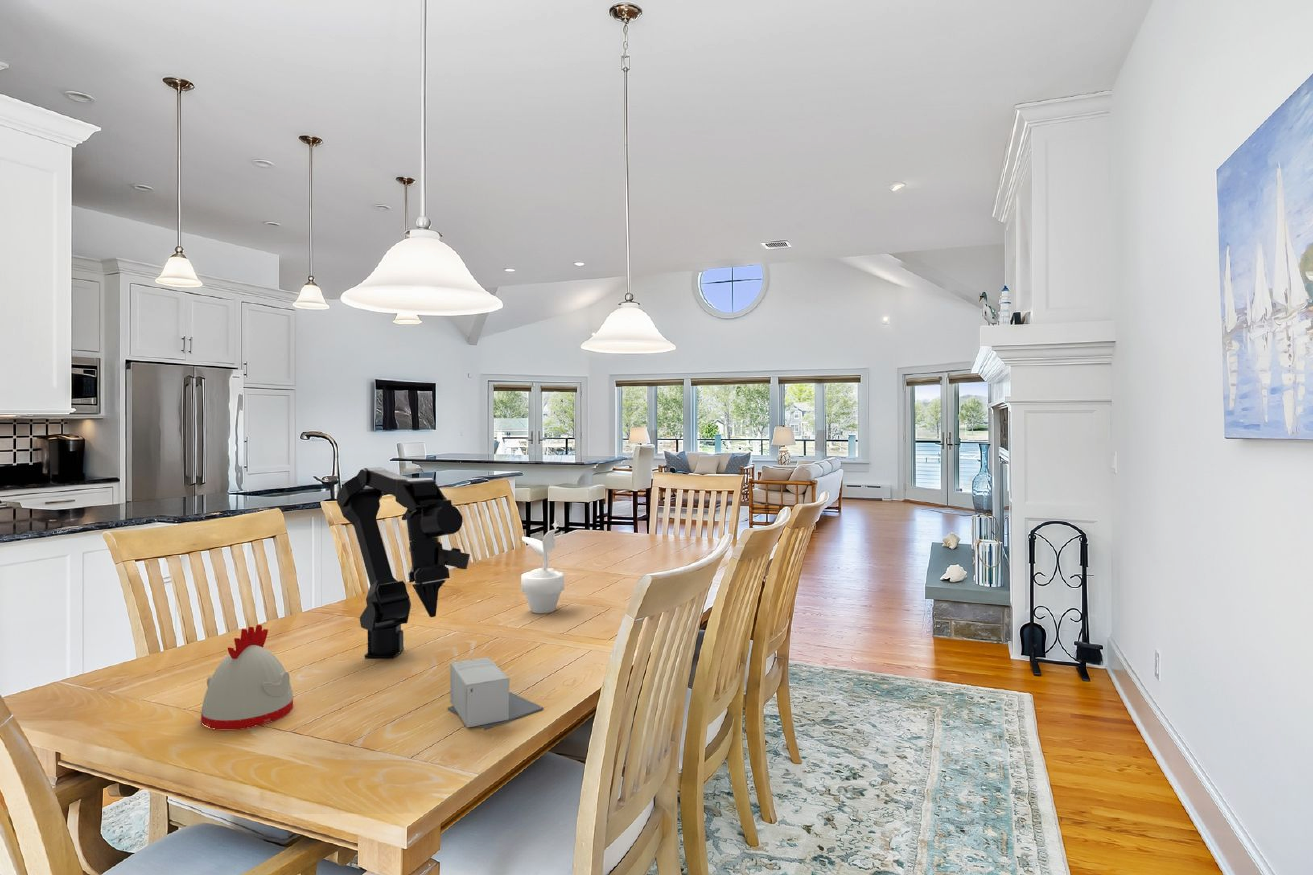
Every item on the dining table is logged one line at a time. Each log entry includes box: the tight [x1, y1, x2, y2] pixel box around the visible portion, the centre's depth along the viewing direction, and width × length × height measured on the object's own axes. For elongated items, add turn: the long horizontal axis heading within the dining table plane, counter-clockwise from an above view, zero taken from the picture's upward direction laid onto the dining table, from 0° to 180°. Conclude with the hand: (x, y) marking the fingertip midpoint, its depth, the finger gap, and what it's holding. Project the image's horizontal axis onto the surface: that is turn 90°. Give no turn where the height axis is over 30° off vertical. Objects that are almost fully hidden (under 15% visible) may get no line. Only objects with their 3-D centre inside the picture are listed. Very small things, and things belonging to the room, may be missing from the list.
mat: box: [447, 691, 545, 730], centre depth 128 cm, size 12×12×1 cm
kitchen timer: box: [200, 624, 294, 730], centre depth 125 cm, size 14×14×15 cm
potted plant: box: [520, 518, 565, 615], centre depth 194 cm, size 13×12×25 cm
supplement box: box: [449, 656, 510, 728], centre depth 126 cm, size 7×7×13 cm
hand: (432, 616), depth 145 cm, fingers closed
